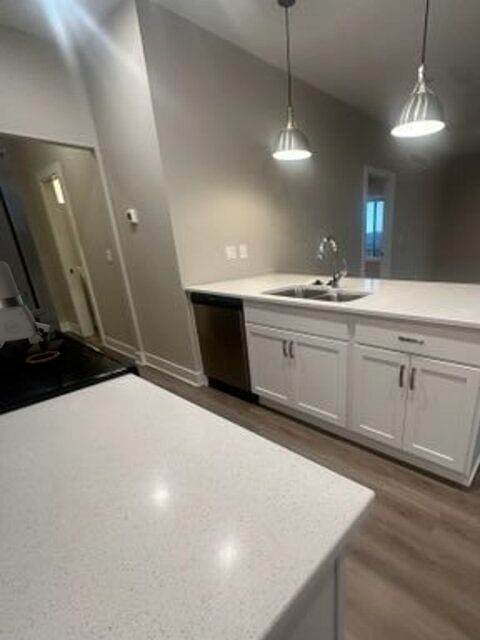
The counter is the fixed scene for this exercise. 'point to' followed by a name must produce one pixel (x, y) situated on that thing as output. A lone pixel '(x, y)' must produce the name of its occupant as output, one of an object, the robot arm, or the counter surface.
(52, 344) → the peg on round base
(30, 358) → the ring
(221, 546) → the counter surface
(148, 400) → the counter surface
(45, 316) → the ink box
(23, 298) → the spray can
